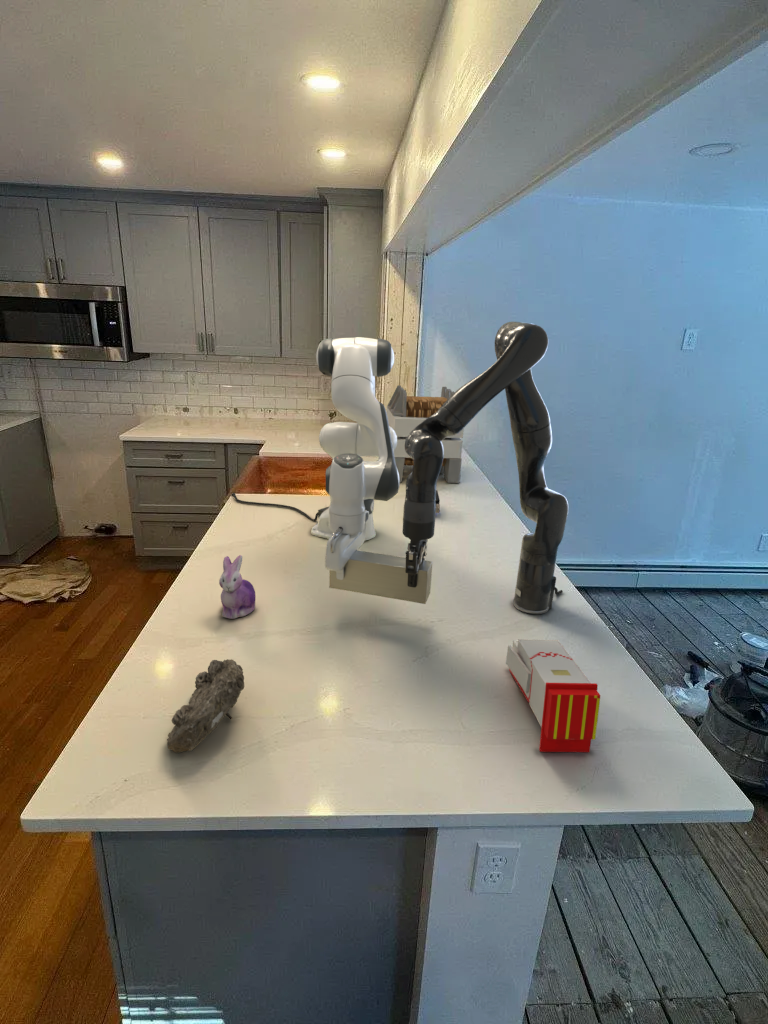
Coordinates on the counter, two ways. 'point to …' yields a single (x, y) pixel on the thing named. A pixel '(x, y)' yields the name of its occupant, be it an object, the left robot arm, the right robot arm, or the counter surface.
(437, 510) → the figurine character
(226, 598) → the figurine
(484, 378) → the right robot arm
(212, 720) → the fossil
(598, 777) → the counter surface
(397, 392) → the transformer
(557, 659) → the toy
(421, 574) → the box
